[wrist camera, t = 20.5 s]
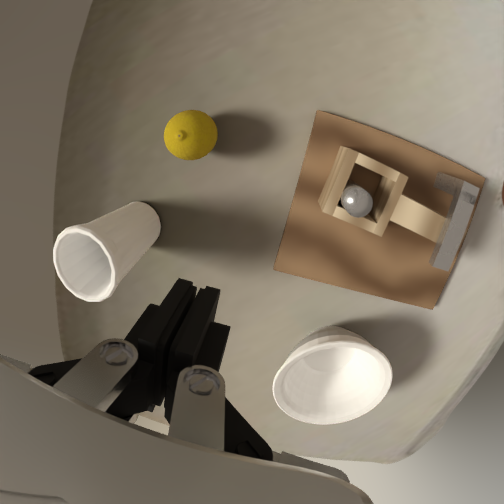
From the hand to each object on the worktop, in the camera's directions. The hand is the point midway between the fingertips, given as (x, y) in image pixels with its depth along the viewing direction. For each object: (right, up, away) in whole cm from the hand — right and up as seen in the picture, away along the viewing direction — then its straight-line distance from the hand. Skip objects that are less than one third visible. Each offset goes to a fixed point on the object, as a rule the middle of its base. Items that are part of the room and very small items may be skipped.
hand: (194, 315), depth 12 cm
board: (+19, +7, +25) cm, 32 cm away
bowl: (+14, -12, +33) cm, 38 cm away
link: (+19, +8, +23) cm, 31 cm away
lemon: (-4, +16, +23) cm, 29 cm away
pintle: (+13, +10, +23) cm, 28 cm away
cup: (-13, +6, +28) cm, 32 cm away
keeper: (+25, +8, +22) cm, 34 cm away
